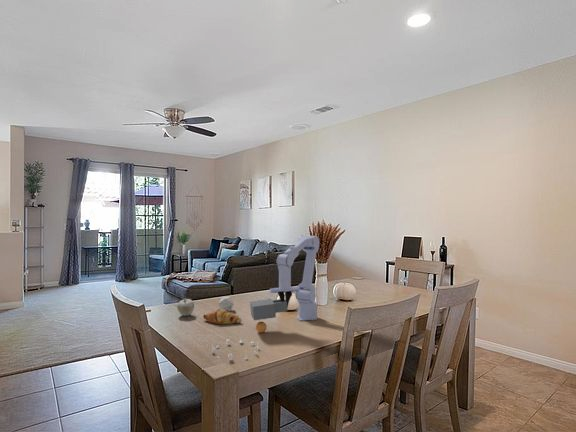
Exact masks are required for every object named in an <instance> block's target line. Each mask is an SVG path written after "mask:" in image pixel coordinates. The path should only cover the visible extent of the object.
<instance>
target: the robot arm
mask: <svg viewBox="0 0 576 432" xmlns="http://www.w3.org/2000/svg"><path fill="white" fill-rule="evenodd" d="M319 249H320V238H319V237H318V235H304V234H302V235H300V236H299V237H298V241H297V243H295V245H294V246H293V245H290V246H289V247H288V249H286V251H284V252H283V253H280V254H278V256H277V258H276V265H277V269H278V287H273V288H269V294H275V293H277V295H278V297H279V299H280V300H281V302H284V299H285V300H286V301H287V309H288V308H289V303H290V300H291V298H292V296H293V293H294V296H295V299H296V300H297V302H298V315H296V318H297V319H299V321H302V322H303V321H314V320H318V306H317V302H316V299H317V298H316V296H317V294H316V291H317V289H316V287H315V285H314V284H313V277H314V271H315V263H316V258H317V257H316V256H317V253H318V252H319ZM301 250H302V251H304V252H305V253H306V256H305V262H304V268H303V274H302V281H301V283H299V284H298V285H297V286H292V279H291V278H292V277H291V276H292V269H291V268H292V266H293V264H294V261H295V259H296V258H297V257H298V256H299V255H300V251H301Z"/></svg>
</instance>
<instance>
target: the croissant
mask: <svg viewBox="0 0 576 432" xmlns="http://www.w3.org/2000/svg"><path fill="white" fill-rule="evenodd" d="M202 317H203V319H204V320H206V321H207V322H208V323H210V324H211V323H212V324H214V325H215V324H216V325H231V324H240V323H241V322H242V321H243V320H242V318H241V317H240V316H239V315H236V314H235V313H234V312H233V311H226V310H223V309H220V308H218V309H217V310H216V311H212V312H211V313H210V312H209V313H206V314H203V316H202Z"/></svg>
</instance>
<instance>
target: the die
mask: <svg viewBox="0 0 576 432" xmlns="http://www.w3.org/2000/svg"><path fill="white" fill-rule="evenodd" d="M217 304H218V307H219V309H223V310H226V311H227V312H232V309H233V307H234V305H235V304H234V301H233V299H232V296H222V297H221V298H220V300H219V302H218V303H217Z"/></svg>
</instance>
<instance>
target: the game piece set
mask: <svg viewBox="0 0 576 432" xmlns="http://www.w3.org/2000/svg"><path fill="white" fill-rule="evenodd" d="M230 342H231V340H230V339H226V345H227V346H230ZM239 344H244V339H243V337H241V338H240V339H239ZM256 344H257V346H255V342H254V341H253V340H252V341H250V346H251V347H252V346H254V347H253V349H254V352H253V353H252V356H258V355H259V353H258V352H257V350H258V351H259V349H260V347H259V341H256ZM216 349H220V346H219V345H218V343H217V344H216V346H214V345H213V346H211V349H210V350H211V354H214V353H215V350H216ZM244 350H245V349H244ZM245 352H247V349H246V350H245ZM215 357H216V359H218V360H219V359H220V356H218V355H217V354H215ZM227 357H228V361H230V362H231V361H232V359H233V354H232V353H229V354H228V355H227ZM248 358H249V357H248V356H245V357H244V360H245V361H246V360H249V359H248Z"/></svg>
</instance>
